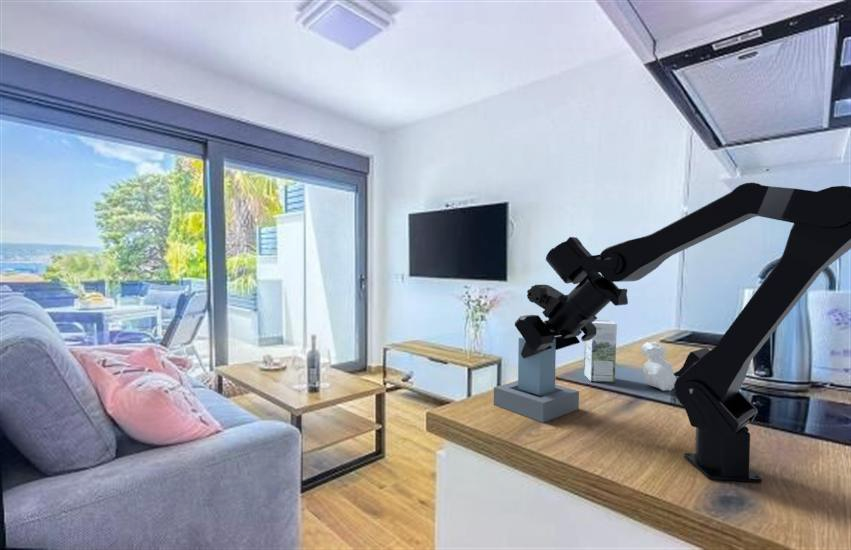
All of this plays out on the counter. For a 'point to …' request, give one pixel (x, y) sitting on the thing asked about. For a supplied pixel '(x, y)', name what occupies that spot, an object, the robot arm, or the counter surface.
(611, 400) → the counter surface
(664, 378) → the duck figurine
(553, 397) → the box
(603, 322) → the syrup box
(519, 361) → the peg block
